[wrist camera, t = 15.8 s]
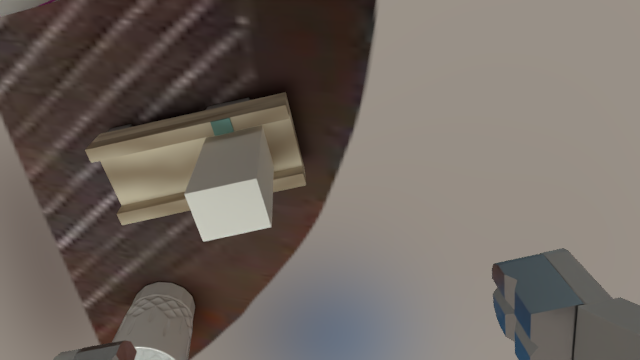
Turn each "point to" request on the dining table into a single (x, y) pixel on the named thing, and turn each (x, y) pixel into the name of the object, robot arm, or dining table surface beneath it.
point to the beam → (189, 153)
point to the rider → (232, 184)
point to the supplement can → (20, 5)
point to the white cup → (159, 323)
